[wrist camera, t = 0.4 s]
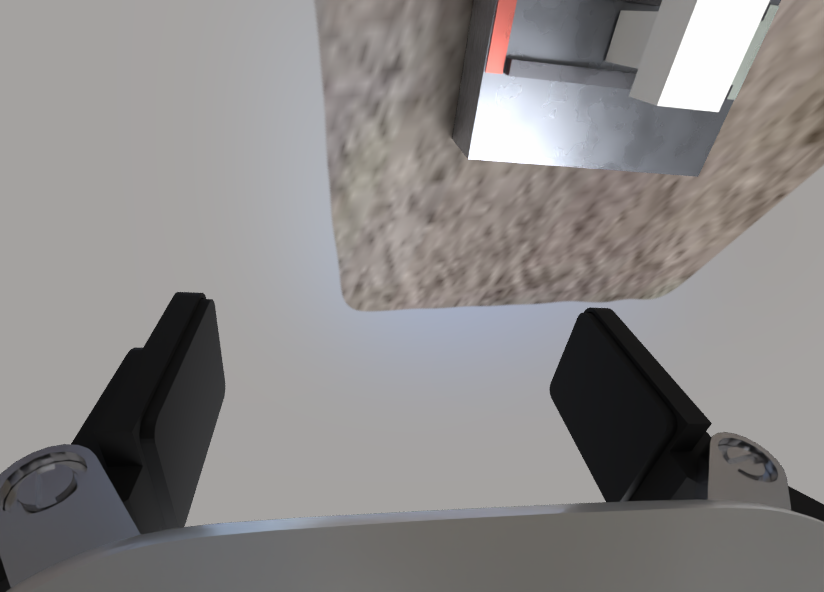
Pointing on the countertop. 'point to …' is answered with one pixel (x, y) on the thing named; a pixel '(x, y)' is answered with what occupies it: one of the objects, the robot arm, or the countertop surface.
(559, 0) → the slider base
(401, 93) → the countertop surface
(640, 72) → the handle
